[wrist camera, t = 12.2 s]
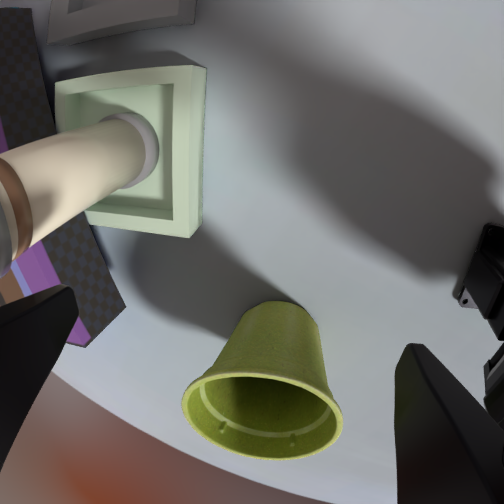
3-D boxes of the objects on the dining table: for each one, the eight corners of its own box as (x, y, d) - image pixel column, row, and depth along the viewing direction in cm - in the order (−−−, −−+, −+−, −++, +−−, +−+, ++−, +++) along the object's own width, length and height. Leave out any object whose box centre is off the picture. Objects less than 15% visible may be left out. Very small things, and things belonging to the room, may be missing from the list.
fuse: (142, 99, 17) (-51, 147, 6) (171, 169, 19) (7, 283, 8) (89, 131, 19) (-78, 200, 7) (115, 193, 21) (-33, 299, 9)
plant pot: (355, 290, 21) (366, 388, 14) (326, 380, 26) (320, 468, 18) (221, 268, 23) (174, 354, 15) (219, 362, 27) (187, 443, 19)
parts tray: (206, 68, 17) (192, 64, 14) (202, 223, 21) (189, 238, 19) (77, 81, 18) (55, 82, 16) (83, 209, 23) (64, 221, 20)
